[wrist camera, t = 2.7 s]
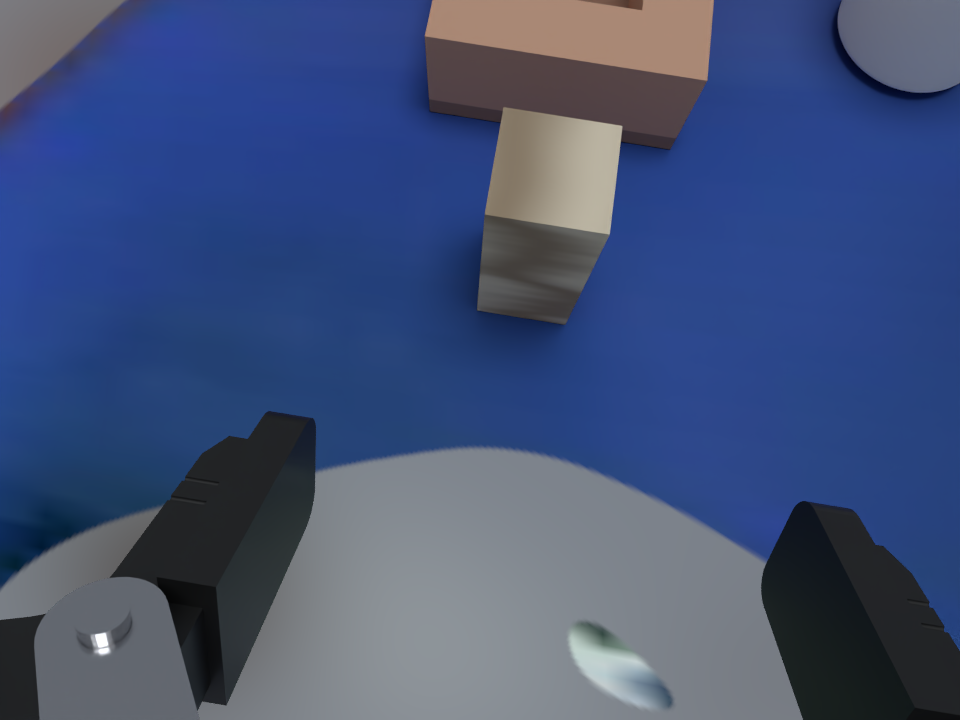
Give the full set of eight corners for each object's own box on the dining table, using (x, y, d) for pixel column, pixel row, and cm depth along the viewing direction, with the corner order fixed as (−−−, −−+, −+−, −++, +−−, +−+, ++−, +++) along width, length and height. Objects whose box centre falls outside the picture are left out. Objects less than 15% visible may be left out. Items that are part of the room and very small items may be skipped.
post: (576, 243, 34) (622, 125, 24) (565, 324, 33) (609, 234, 23) (490, 229, 34) (503, 107, 24) (476, 310, 33) (484, 214, 23)
